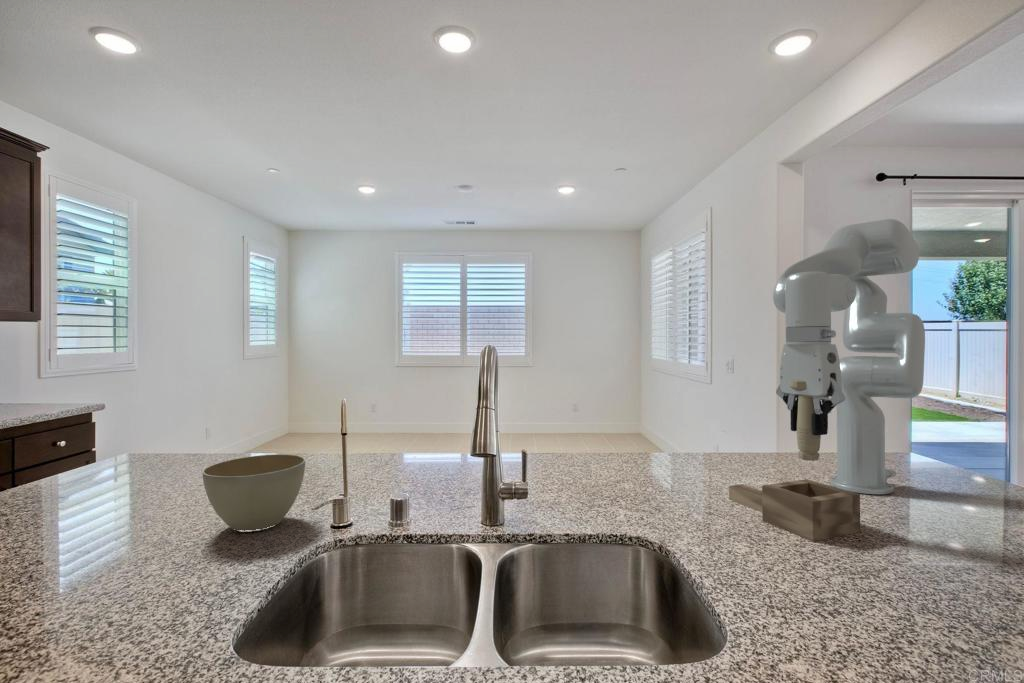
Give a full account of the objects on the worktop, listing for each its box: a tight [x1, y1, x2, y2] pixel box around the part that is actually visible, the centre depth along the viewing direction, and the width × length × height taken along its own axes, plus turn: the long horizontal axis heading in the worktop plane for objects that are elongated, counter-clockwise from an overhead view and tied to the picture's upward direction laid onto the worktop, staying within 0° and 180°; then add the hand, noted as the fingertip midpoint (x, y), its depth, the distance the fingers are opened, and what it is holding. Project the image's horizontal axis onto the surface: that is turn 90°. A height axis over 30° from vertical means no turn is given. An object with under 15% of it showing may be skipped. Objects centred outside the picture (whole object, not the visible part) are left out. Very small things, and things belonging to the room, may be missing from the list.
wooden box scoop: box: [728, 479, 861, 542], centre depth 102 cm, size 12×24×7 cm, turn 20°
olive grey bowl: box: [202, 453, 306, 531], centre depth 99 cm, size 18×18×12 cm
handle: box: [789, 381, 822, 462], centre depth 96 cm, size 5×6×15 cm
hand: (808, 431), depth 96 cm, fingers closed on handle, 3 cm apart
